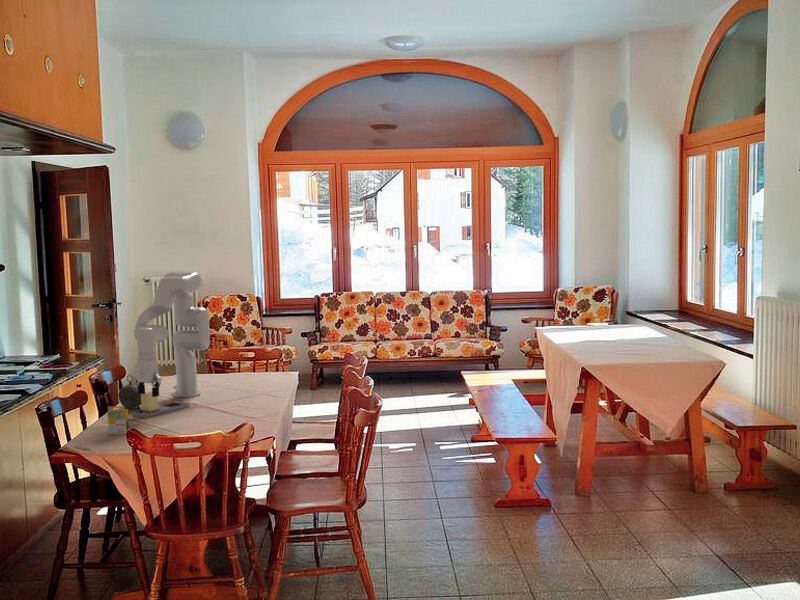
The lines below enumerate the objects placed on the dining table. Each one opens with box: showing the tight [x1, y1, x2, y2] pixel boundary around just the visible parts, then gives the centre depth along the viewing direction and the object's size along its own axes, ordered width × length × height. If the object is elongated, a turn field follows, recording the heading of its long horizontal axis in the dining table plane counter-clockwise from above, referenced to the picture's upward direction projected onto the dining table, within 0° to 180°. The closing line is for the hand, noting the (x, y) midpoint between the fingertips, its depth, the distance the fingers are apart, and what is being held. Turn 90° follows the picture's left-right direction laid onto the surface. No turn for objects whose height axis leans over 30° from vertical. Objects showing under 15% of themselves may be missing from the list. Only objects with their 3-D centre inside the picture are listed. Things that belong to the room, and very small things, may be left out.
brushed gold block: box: [140, 391, 159, 413], centre depth 371 cm, size 5×5×9 cm
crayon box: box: [107, 405, 130, 435], centre depth 344 cm, size 7×3×12 cm, turn 86°
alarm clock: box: [118, 374, 142, 411], centre depth 381 cm, size 11×5×16 cm, turn 71°
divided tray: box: [131, 400, 191, 419], centre depth 376 cm, size 9×24×2 cm, turn 143°
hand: (148, 395), depth 370 cm, fingers open, 9 cm apart
